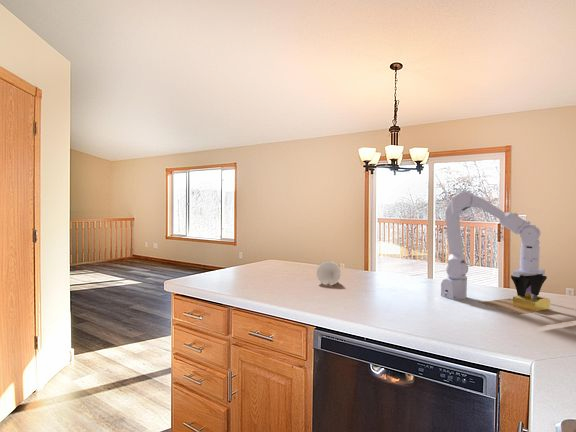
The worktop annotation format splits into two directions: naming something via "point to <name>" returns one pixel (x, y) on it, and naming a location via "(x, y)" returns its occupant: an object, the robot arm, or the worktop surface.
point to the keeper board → (510, 305)
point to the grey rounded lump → (328, 273)
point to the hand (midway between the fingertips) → (528, 295)
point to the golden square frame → (531, 303)
